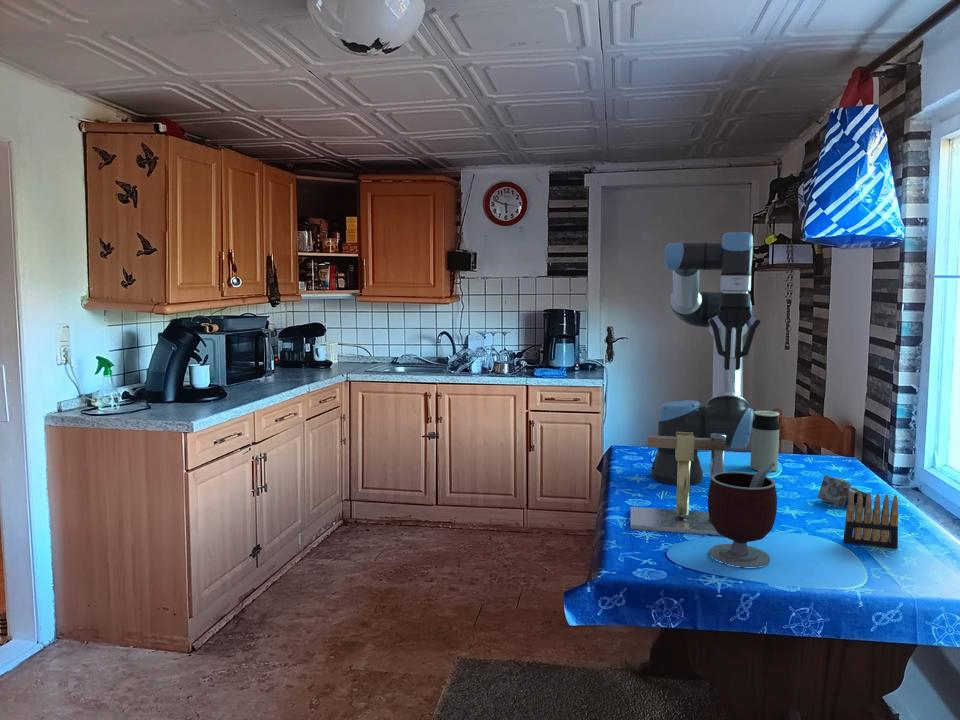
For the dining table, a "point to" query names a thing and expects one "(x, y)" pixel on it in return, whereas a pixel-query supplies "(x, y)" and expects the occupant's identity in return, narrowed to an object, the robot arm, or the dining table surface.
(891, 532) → the ammunition clip
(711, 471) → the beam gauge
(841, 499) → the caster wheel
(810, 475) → the dining table surface
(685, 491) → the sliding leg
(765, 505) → the mate gourd
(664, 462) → the robot arm
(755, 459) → the travel mug
